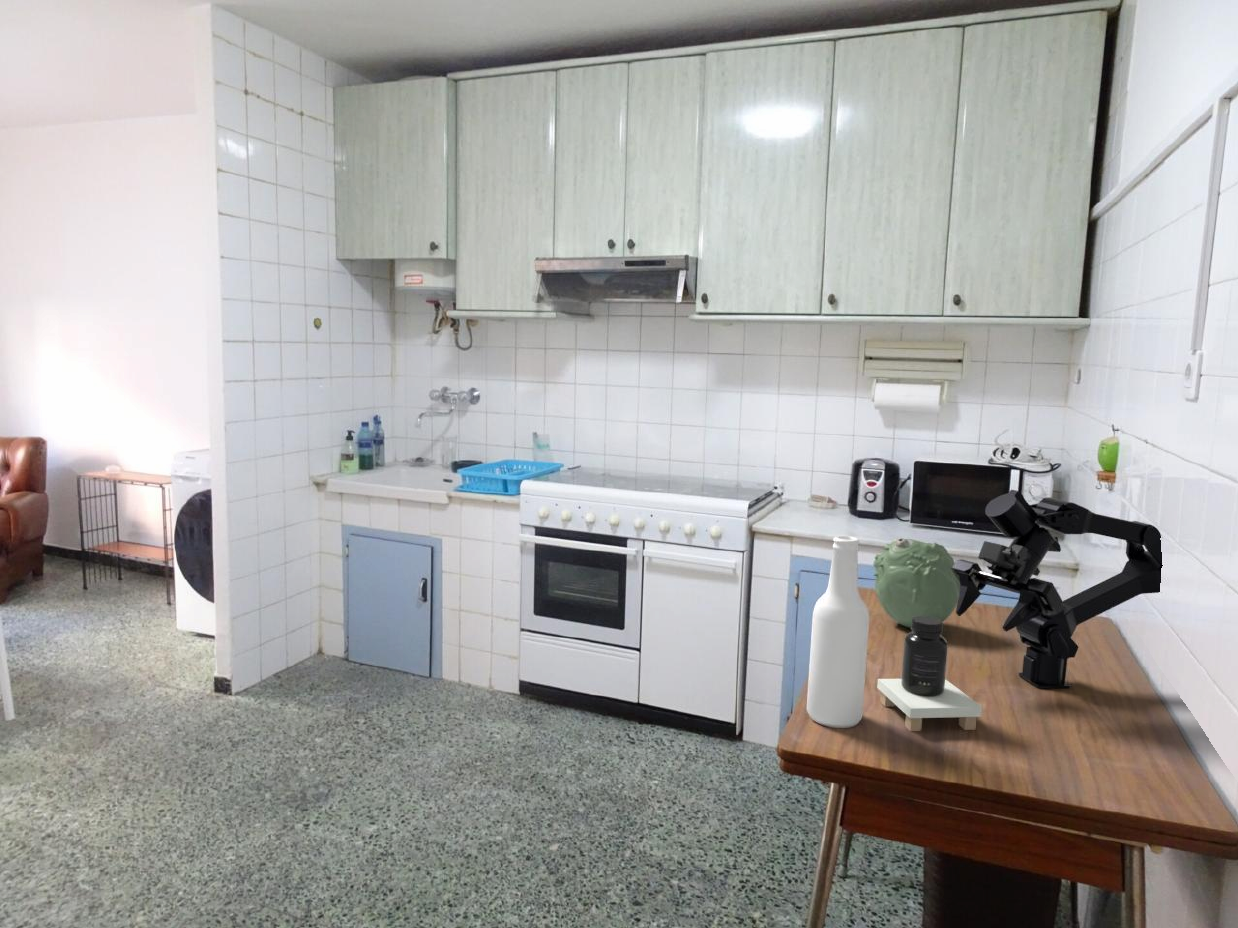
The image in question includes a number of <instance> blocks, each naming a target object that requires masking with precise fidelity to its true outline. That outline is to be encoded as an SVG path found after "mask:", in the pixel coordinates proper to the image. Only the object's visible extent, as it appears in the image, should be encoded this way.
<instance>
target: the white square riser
mask: <svg viewBox="0 0 1238 928" xmlns="http://www.w3.org/2000/svg"><path fill="white" fill-rule="evenodd" d="M901 680H902V678H878V679H877V684H876V685H877V686H876V688H877V689H878V690H879V691H880V702H879V703H880V704H881V705H882V706H883V707H884V708H885V707H888V708H891V707H897V708H898V709H899V710H900V711H902V712H903V713H904V714H905V724H904V726H905V727H906V728H907V729H908V731H910V732H921V731H922V725H923V724H922V723H923V719H924V718H925V719H929V718H930V719H934V718H935V719H937V718H941V719H942V718H959V719H958V725H959V726H960V727H961V728H962V729H963V730H965V731H967V730H968V731H971V730H972V731H973V730H976V726H977V717H981V718H982V713H983V706H982V705H980V704H979V703H978V702H976V701H975V700H973V699H972V698H971V697H970V696H968V695H967V694H966V693H964V692H963V691H962V690H960V689H959V688H958V687H956V686H955V685H954V684H952V683H951V682H950V681H949V680H947V678H945V688H944V692H943V693H942V694H940V695H938V696H920V695H916V694H913V693H910V692H908V691H906V690H905V689H904V688H903V686H902V684H901Z"/></svg>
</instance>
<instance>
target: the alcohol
mask: <svg viewBox="0 0 1238 928" xmlns="http://www.w3.org/2000/svg"><path fill="white" fill-rule="evenodd" d="M832 540H833V544H832V549H833V550H832V558H831V562H830V570H829V576H828V577H829V578H828V584H827V589H826V591H825V592H824V593H823V595H822V596H821V597H819V598H818V600H817V601H816V603H815V605H814V608H813V611H812V618H811V619H812V621H811V636H810V637H811V638H810V653H809V668H808V681H807V697H806V699H807V700H806V712H807V713H808V715H809V718H811V720H812V721H814V722H815V723H818V724H819V725H822V726H825V727H827V728H828V727H829V728H832V729H833V728H834V729H846V728H847V729H848V728H853V727H855V726H857V724H859V722H860V721H861V720H862V718H863V709H864V697H865V696H864V693H865V684H866V681H865V680H866V671H867V670H866V666H867V654H868V641H869V629H870V628H869V627H870V614H869V609H868V606H867V605H866V603H865V602H864V601H863V599H862V598H861V596H860V592H859V568H858V567H859V564H858V561H859V560H858V559H859V557H858V556H859V555H858V554H859V553H858V551H859V549H860V548H859V544H860V540H859V539H858V538H857V537H855V536H850V535H837V536H835V537H833V539H832Z"/></svg>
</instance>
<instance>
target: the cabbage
mask: <svg viewBox="0 0 1238 928" xmlns="http://www.w3.org/2000/svg"><path fill="white" fill-rule="evenodd" d="M883 549H884V550H882V551H881V554H876V555H875V556H874V561H873V567H874V568H875V573H874V574H873V575H872V576H873V577H874V578H875V579H874V580H875V583H874V590H875V593H876V597H877V599H878V602H879V603H880V605H881V608H883V610H884V612H885V613H886V614H887V616H889V618H890V619H891V620H893V621H894V622H896V623H898V624H900V625H902V626H904V627H906V628H909V629H911V625H912V618H913V617H916V616H929V617H934V618H937V619H939V620H941V621H942V622H943V623H944V621H946V620H947V619H948V618H949V617H950V616H951V615H952V614H953V612H954V611H955V609H956V608H957V604H958V599H959V594H960V582H959V580H958V579H957V577H956V576H955V574H954V573H953V571H952V570H951V568H952V566H953V565H954V563H955V562H954V558H953V557H952V555H951V554H950V553H948V550H947V549H946V547H945V546H944V545H943V544H939V543H937V542H933V543H931V542H927V543H926V542H924V541H920V540H917V539H912V538H911V539H910V538H895V539H893V540H892V541H890V543H886V545H885V546H884V547H883Z"/></svg>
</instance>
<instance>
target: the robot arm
mask: <svg viewBox="0 0 1238 928" xmlns="http://www.w3.org/2000/svg"><path fill="white" fill-rule="evenodd" d="M984 511H985V515H986V516H987V517H988V519H990V521H992V523H993V524H994V526H996V528H997V529H998V530H999V531H1000V532H1001V533H1002V534H1003V536H1004V537H1007V538H1013V540H1012V542H1011V543H1010V545H1009V546H1007V545H1004V544H1000V543H996V542H992V541H988V540H987V541H986V540H985V541H983V542H982V547H981V548H980V551H979V554H978V557H977V558H978V559H979V560H983V561H985V562H987V564H986V568H987V569H988V570H989V571H991V573H987V572H984V571H983V570H982V568H981V567H980V565H979V563H977V562H973V561H970V560H966V559H963V558H962V559H957V560H956V561H955V562H954V565H953V566H952V568H951V570H952V571H953V573H954V574H955V576H956V577H957V579H958V580H959V582H960V594H959V599H958V603H957V606H956V608H955V609H956V610H955V614H956V615H957V616H958V617H961V616H962V615H963V614H964V613H966V612H967V610H968V609H969V608H970V607H971V606H972V605H973V604H974V602H976V601H977V599H978V598H979V597H980V596H981V595H982V593H981V592H980V591H981V590H984V589H985V587H986V586H991V587H993V588H994V587H995V588H999V589H1001V590H1004V591H1008V592H1012V593H1015V594H1019V597H1018V601H1017V602H1016V604H1015V605H1014V607H1013V609H1012V610H1011V612H1010V613H1009V615H1008V616H1007V617H1006V619H1005V621H1004V624H1003V625H1002V630H1003V631H1004V632H1009V631H1010V630H1012V629H1014V628H1015V629H1016V632H1017V633H1018V634H1019V638H1020V641H1021V643H1022V644H1024V645H1027V646H1026V649H1025V651H1026V652H1025V655H1023V660H1022V661H1023V662H1022V669H1021V670H1022V671H1021V672H1018V676H1019V677H1020V678H1022V679H1023V680H1025V681H1027V682H1028V683H1030V684H1031V685H1033V686H1035V687H1036V688H1038V689H1065V688H1066V689H1068V688H1070V689H1071V687H1072V686H1071V684H1070V683H1068V682H1067V681H1066V676H1067V666H1068V659H1071V658H1075V656H1076V655H1077V653H1078V650H1079V645H1078V644H1077V643H1076V642H1075V641H1074V639H1073V638H1072V636H1073V635H1074V633H1075V631H1076V629H1077V626H1079V625H1082V624H1083V623H1086V622H1087V621H1089V620H1092V619H1093V618H1095V617H1097V616H1099V615H1101V614H1103V613H1106V612H1107V611H1109V610H1111V609H1113V608H1115V607H1118V606H1119V605H1121V604H1123V603H1125V602H1127V601H1129V600H1132V599H1133V598H1135V597H1138V596H1139V595H1146V594H1156V593H1157V594H1158V593H1159V592H1160V583H1161V568H1162V566H1163V565H1162V552H1161V540H1160V538H1161V536H1162V534H1161V532H1160V530H1159V529H1158V527H1156V526H1154V525H1152V524H1149V523H1145V522H1141V521H1136V520H1132V521H1130V520H1128V519H1127V520H1126V519H1121V518H1118V517H1112V516H1109V515H1105V514H1098V513H1095V512H1093V511H1091V510H1090V509H1088V508H1086V507H1084V506H1082V505H1079V504H1077V503H1074V502H1070V501H1066V500H1062V499H1058V498H1053V497H1048V496H1047V497H1044V498H1042V500H1039V502H1037V503H1033V504H1029V503H1028V502H1027V500H1026V499H1025V498H1024V495H1023V494H1022V493H1021V492H1020V491H1019V490H1015V489H1010V490H1009V491H1008V493H1004V494H1001V495H999V496H997V497H995V498H994V499H990V501H989V502H988V504H986V507H985V510H984ZM1049 530H1051V531H1054V532H1056V533H1057V532H1058V533H1060V534H1064V535H1085V534H1096V535H1099V536H1104V537H1108V538H1113V539H1118V540H1122V541H1125V542H1126V547H1125V555H1126V557H1127V559H1128V560H1127V561H1126V562H1125V564H1124V567H1123V569H1122V570H1121V572H1119V573H1117V574H1116V575H1113V576H1112V577H1110V578H1107V579H1105V580H1103V581H1101V582H1099V583H1097V584H1094V585H1093V586H1091V587H1088V588H1086V589H1085V590H1083V591H1081V592H1078V593H1076V594H1074V595H1072V596H1070V597H1068V598H1066V599H1064V600H1063V599H1062V597H1061V596H1060V594H1059V592H1058V591H1057V588H1056V586H1055V585H1054V583H1053V582H1051V581H1047V580H1043V579H1040V578H1039V579H1038V578H1035V577H1032V576H1037V577H1038V576H1039V574H1040V573H1041V571H1040V569H1039V566H1040V564H1041V562H1042V561H1043V559H1044V558H1045V556H1046V554H1047V553H1048V552H1057V553H1060V552H1061V551H1062V547H1061V544H1060V542H1059V537H1058V536H1053V535H1052V533H1050V531H1049ZM1144 547H1145V548H1144ZM1159 594H1160V593H1159Z"/></svg>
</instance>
